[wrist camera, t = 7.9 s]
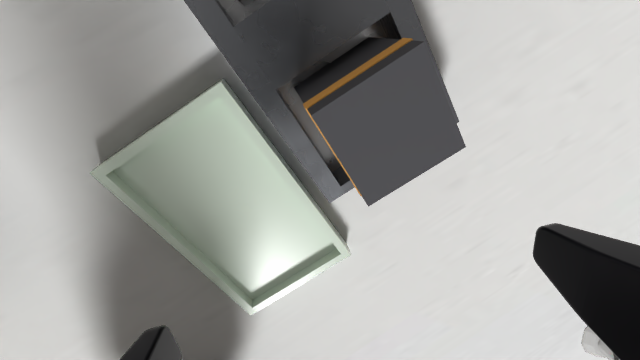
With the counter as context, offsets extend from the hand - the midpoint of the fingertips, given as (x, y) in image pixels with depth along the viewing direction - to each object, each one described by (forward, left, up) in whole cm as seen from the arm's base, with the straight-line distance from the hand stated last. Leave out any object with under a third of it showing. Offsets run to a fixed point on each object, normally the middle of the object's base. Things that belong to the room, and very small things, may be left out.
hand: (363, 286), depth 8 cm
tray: (-2, +6, -12) cm, 13 cm away
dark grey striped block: (0, -3, -11) cm, 12 cm away
